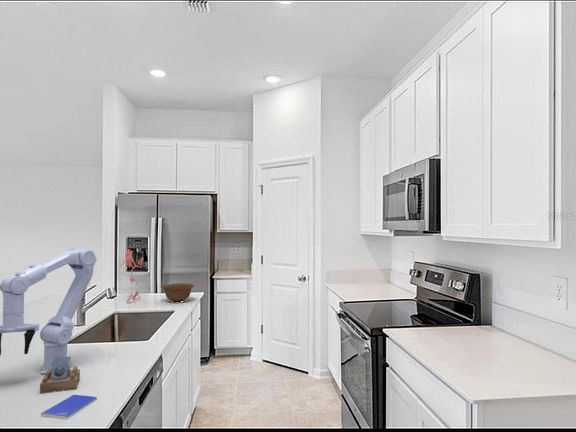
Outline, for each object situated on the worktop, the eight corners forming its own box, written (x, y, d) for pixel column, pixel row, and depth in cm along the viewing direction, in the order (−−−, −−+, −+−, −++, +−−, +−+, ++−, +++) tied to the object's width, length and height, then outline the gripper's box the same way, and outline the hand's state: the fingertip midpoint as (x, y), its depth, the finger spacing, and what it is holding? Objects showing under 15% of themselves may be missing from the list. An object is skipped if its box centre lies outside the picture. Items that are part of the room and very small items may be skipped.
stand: (46, 381, 137) (46, 368, 137) (79, 377, 140) (79, 365, 141) (39, 393, 128) (40, 379, 128) (76, 389, 131) (76, 375, 131)
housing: (55, 372, 137) (55, 357, 137) (70, 371, 138) (70, 356, 138) (50, 381, 130) (51, 364, 130) (67, 379, 131) (67, 363, 131)
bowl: (153, 301, 275) (153, 285, 275) (181, 297, 292) (181, 281, 292) (173, 306, 261) (173, 289, 261) (201, 301, 278) (201, 285, 278)
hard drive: (67, 415, 111) (96, 396, 123) (40, 412, 113) (72, 394, 125) (67, 421, 111) (96, 401, 123) (40, 418, 113) (72, 399, 125)
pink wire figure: (146, 298, 288) (146, 247, 289) (131, 305, 263) (131, 250, 263) (125, 298, 289) (124, 248, 289) (107, 305, 263) (107, 250, 264)
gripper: (-18, 317, 129) (-18, 360, 129) (36, 313, 134) (35, 355, 134) (-10, 312, 136) (-11, 354, 136) (40, 309, 141) (40, 349, 141)
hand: (12, 354), depth 135 cm, fingers open, 7 cm apart
